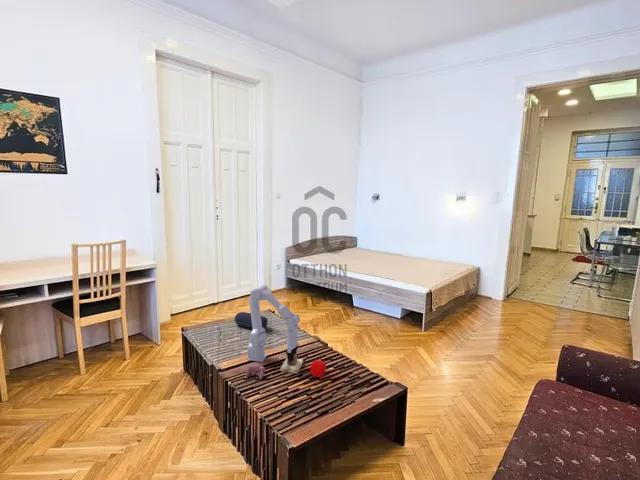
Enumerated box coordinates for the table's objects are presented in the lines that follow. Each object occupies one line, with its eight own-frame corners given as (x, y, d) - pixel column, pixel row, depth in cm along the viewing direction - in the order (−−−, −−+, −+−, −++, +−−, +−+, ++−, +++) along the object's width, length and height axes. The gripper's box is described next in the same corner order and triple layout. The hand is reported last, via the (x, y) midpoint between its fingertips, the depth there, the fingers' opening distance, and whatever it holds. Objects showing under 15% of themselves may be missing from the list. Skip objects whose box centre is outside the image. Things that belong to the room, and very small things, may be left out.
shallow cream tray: (280, 371, 188) (280, 367, 187) (286, 360, 199) (286, 357, 199) (298, 373, 186) (298, 369, 186) (303, 362, 198) (303, 359, 197)
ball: (323, 380, 180) (324, 366, 179) (309, 378, 182) (309, 365, 181) (326, 372, 188) (326, 359, 187) (312, 370, 190) (312, 357, 188)
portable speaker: (270, 328, 244) (270, 315, 242) (262, 333, 235) (262, 320, 233) (241, 321, 254) (241, 309, 252) (233, 326, 245) (233, 313, 243)
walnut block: (287, 364, 191) (287, 356, 190) (289, 360, 195) (289, 352, 194) (294, 365, 190) (295, 357, 189) (297, 361, 194) (297, 353, 193)
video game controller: (264, 379, 182) (267, 366, 184) (260, 380, 178) (263, 366, 180) (248, 375, 185) (251, 362, 187) (244, 376, 181) (247, 362, 183)
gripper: (296, 342, 182) (295, 366, 184) (302, 331, 196) (302, 353, 198) (283, 341, 183) (283, 364, 185) (290, 330, 197) (290, 352, 200)
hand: (292, 358), depth 192 cm, fingers open, 5 cm apart
